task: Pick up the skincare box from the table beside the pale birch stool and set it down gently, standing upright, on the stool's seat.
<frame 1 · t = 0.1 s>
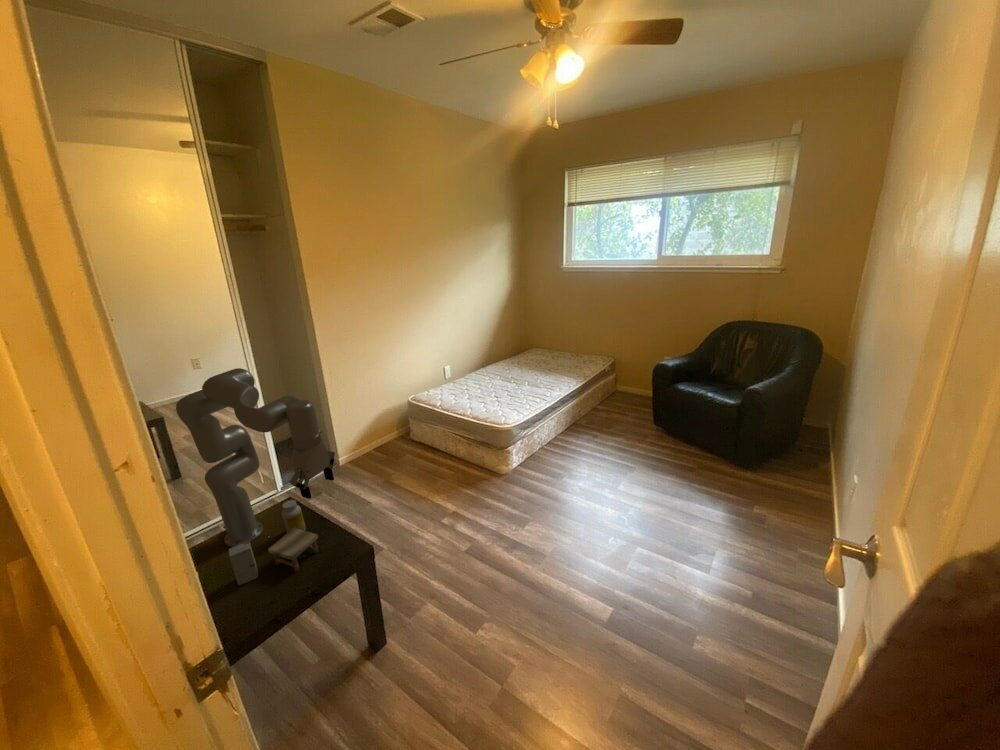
hand: (318, 488, 127), 31 cm above the table, fingers open, 9 cm apart
supplement bottle: (296, 531, 154), on the table
stool: (297, 557, 142), on the table
skincare box: (248, 577, 134), on the table
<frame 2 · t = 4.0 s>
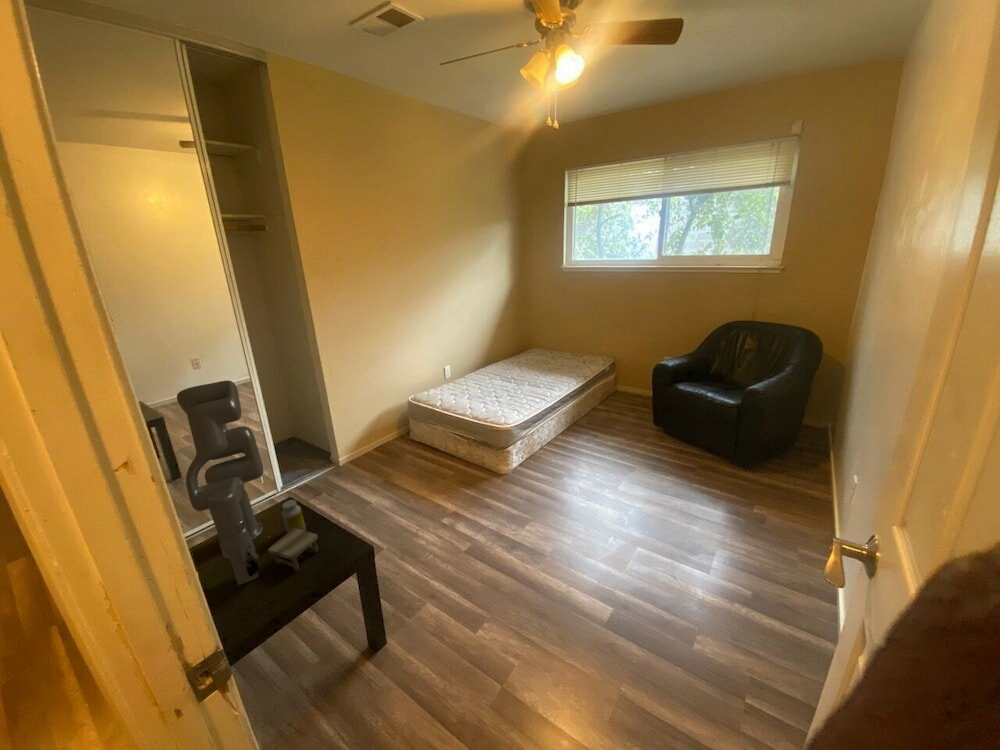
hand: (246, 569, 133), 3 cm above the table, fingers closed on skincare box, 6 cm apart
skincare box: (248, 577, 134), on the table, touching gripper
everything else where it was.
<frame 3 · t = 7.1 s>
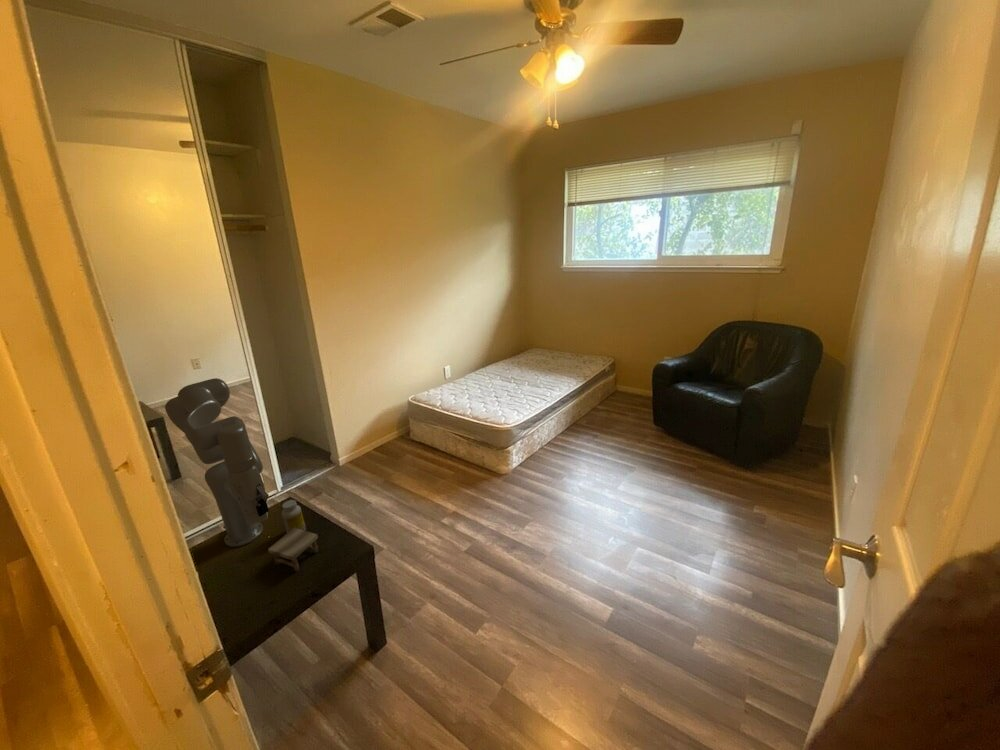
hand: (255, 510, 130), 24 cm above the table, fingers closed on skincare box, 6 cm apart
skincare box: (258, 519, 131), point 20 cm above the table, touching gripper
everything else where it was.
when the fingers open (11 cm above the table, at t = 10.4 s): skincare box drops 1 cm, resting on stool.
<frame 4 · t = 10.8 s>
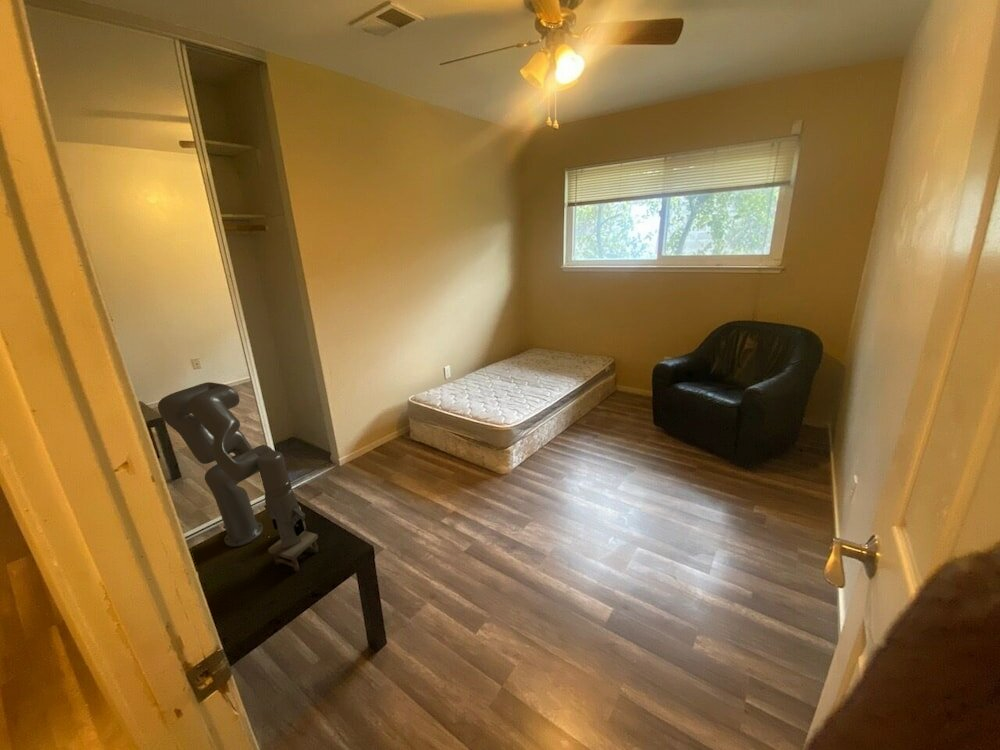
hand: (289, 529, 137), 12 cm above the table, fingers open, 9 cm apart
skincare box: (292, 541, 139), point 7 cm above the table, touching stool
everything else where it was.
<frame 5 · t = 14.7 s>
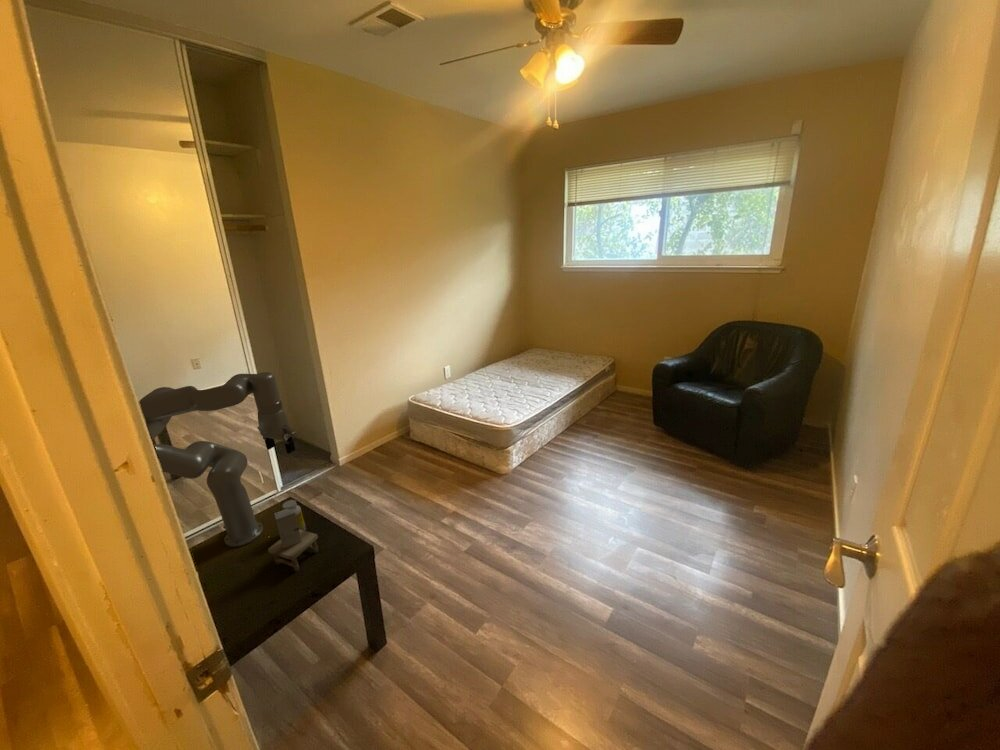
hand: (281, 449, 147), 33 cm above the table, fingers open, 9 cm apart
nothing on the table moved.
at the end: skincare box inside the target area on the stool (0.4 cm from its centre), point 6.8 cm above the stool's base; skincare box tilted 0°; the gripper is holding nothing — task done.
